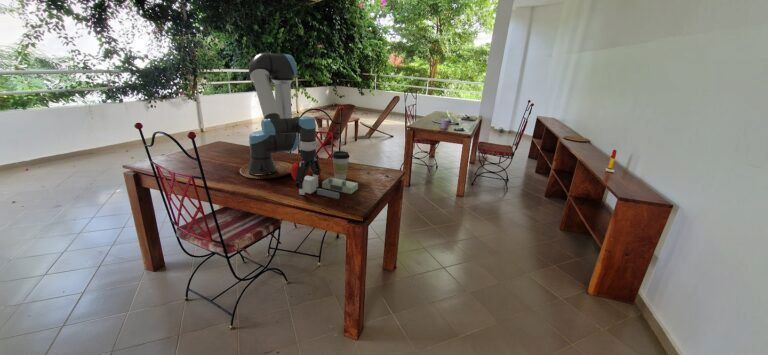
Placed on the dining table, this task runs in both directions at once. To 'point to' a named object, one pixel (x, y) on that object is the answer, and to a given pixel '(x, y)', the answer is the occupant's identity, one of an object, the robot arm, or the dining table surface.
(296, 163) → the apple
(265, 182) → the dining table surface
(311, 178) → the gray rectangular prism
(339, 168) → the coffee cup
